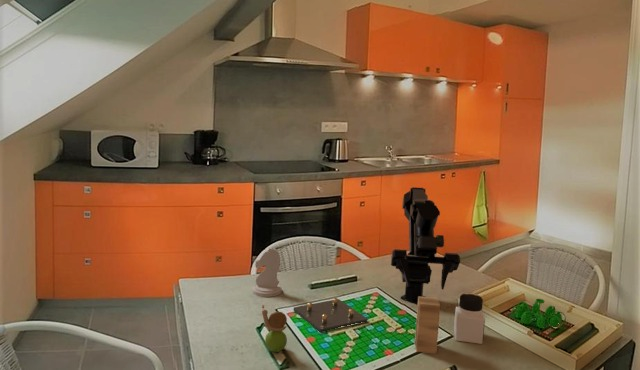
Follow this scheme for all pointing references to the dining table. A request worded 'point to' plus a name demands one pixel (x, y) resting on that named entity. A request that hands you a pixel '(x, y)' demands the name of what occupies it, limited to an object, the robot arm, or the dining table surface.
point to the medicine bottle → (469, 319)
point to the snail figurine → (275, 330)
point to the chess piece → (268, 275)
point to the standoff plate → (329, 314)
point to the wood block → (427, 324)
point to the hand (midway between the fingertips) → (425, 287)
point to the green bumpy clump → (550, 313)
